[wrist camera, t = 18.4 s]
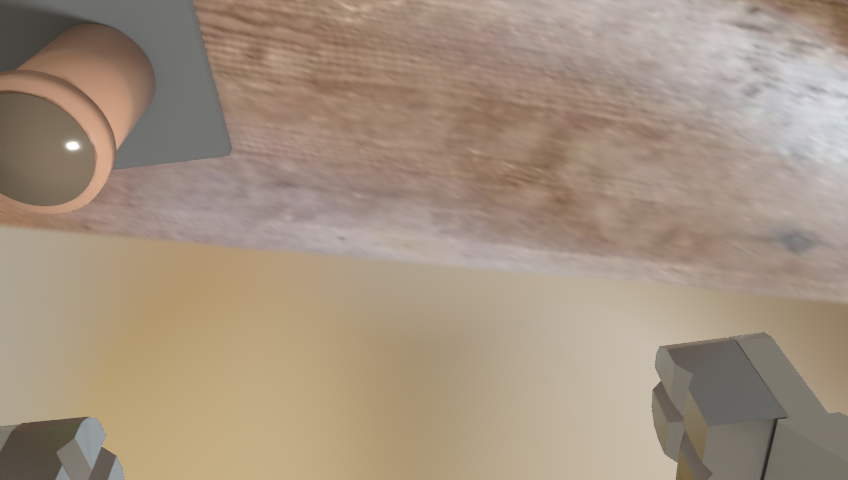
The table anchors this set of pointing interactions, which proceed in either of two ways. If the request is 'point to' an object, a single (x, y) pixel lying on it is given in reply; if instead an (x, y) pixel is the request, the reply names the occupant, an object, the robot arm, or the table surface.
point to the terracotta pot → (70, 117)
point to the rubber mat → (168, 54)
